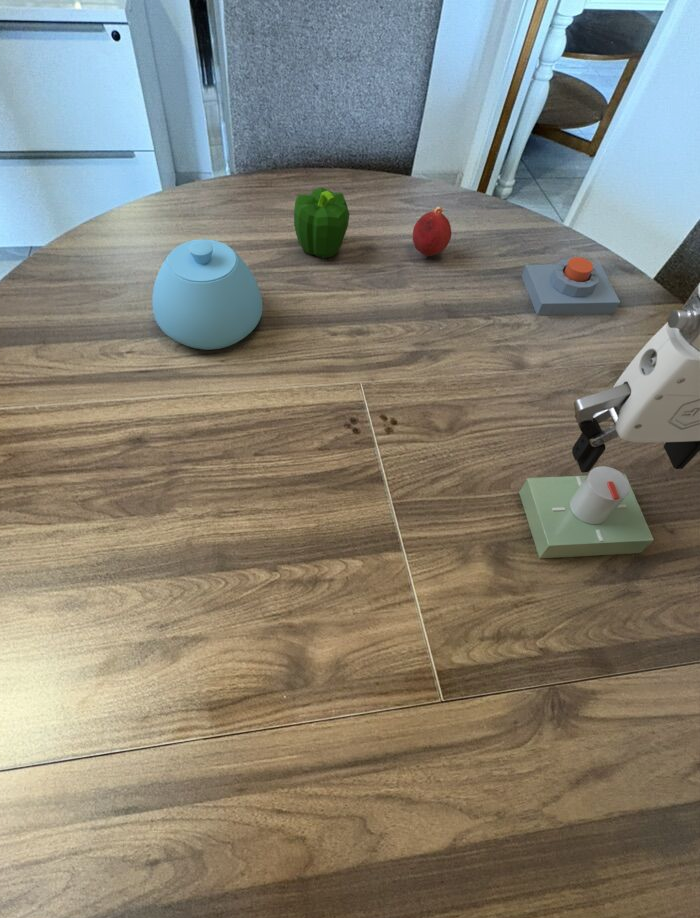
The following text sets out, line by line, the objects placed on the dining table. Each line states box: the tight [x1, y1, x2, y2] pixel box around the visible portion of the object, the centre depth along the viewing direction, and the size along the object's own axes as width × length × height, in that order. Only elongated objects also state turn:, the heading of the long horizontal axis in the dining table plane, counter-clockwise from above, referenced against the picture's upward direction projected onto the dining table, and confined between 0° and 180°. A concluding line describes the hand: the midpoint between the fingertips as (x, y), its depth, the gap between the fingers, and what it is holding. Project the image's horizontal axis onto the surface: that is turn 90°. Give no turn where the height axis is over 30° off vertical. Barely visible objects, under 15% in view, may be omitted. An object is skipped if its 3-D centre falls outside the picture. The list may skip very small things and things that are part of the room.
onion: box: [412, 206, 453, 257], centre depth 94 cm, size 6×6×8 cm
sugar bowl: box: [151, 238, 264, 351], centre depth 82 cm, size 15×15×12 cm
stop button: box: [564, 256, 594, 282], centre depth 90 cm, size 4×4×2 cm
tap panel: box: [518, 473, 655, 559], centre depth 70 cm, size 12×9×3 cm
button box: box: [521, 258, 621, 316], centre depth 92 cm, size 12×9×4 cm
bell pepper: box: [293, 187, 350, 259], centre depth 93 cm, size 8×8×10 cm
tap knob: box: [570, 465, 631, 524], centre depth 67 cm, size 4×4×5 cm
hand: (626, 459), depth 61 cm, fingers open, 9 cm apart
